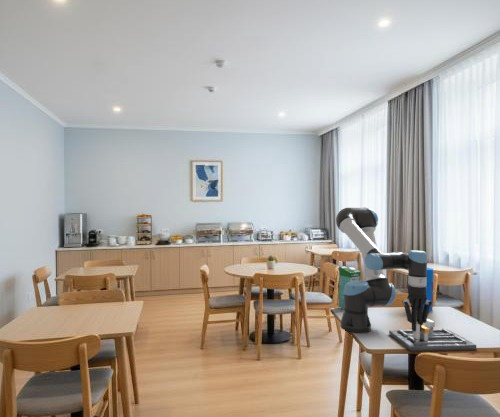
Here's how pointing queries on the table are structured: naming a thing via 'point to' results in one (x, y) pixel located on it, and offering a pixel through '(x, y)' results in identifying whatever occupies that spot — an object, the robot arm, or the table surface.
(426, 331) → the fader
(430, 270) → the thermos
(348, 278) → the milk carton
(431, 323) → the fader
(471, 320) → the table surface
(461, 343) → the console
